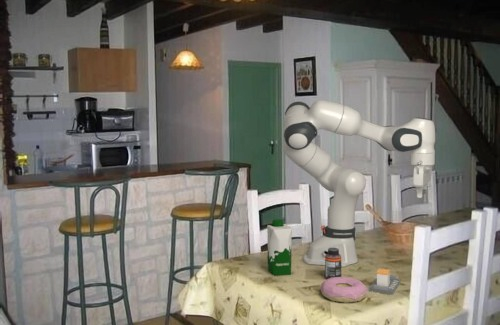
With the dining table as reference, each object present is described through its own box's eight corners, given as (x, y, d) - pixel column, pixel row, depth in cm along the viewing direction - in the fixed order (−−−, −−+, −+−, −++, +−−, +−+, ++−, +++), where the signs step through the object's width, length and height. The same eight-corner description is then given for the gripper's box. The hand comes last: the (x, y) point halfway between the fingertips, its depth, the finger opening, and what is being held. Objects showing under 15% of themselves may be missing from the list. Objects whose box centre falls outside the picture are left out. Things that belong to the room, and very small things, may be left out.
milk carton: (286, 268, 201) (286, 218, 199) (294, 275, 192) (294, 223, 191) (265, 270, 199) (265, 219, 197) (272, 277, 190) (272, 224, 188)
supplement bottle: (330, 275, 192) (330, 245, 191) (344, 278, 188) (344, 248, 187) (322, 279, 188) (322, 249, 187) (336, 282, 184) (336, 251, 183)
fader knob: (378, 282, 179) (379, 268, 178) (389, 284, 177) (390, 269, 176) (376, 286, 175) (376, 271, 175) (387, 287, 173) (387, 272, 173)
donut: (342, 308, 160) (342, 293, 159) (311, 294, 172) (311, 280, 172) (377, 298, 168) (377, 284, 167) (344, 285, 181) (344, 272, 180)
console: (378, 279, 187) (378, 273, 187) (400, 282, 183) (400, 276, 183) (369, 291, 175) (369, 284, 174) (392, 294, 171) (392, 288, 171)
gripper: (427, 162, 184) (426, 200, 185) (434, 158, 202) (434, 192, 203) (409, 162, 187) (408, 199, 188) (418, 157, 205) (417, 191, 206)
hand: (421, 195), depth 196 cm, fingers open, 8 cm apart
